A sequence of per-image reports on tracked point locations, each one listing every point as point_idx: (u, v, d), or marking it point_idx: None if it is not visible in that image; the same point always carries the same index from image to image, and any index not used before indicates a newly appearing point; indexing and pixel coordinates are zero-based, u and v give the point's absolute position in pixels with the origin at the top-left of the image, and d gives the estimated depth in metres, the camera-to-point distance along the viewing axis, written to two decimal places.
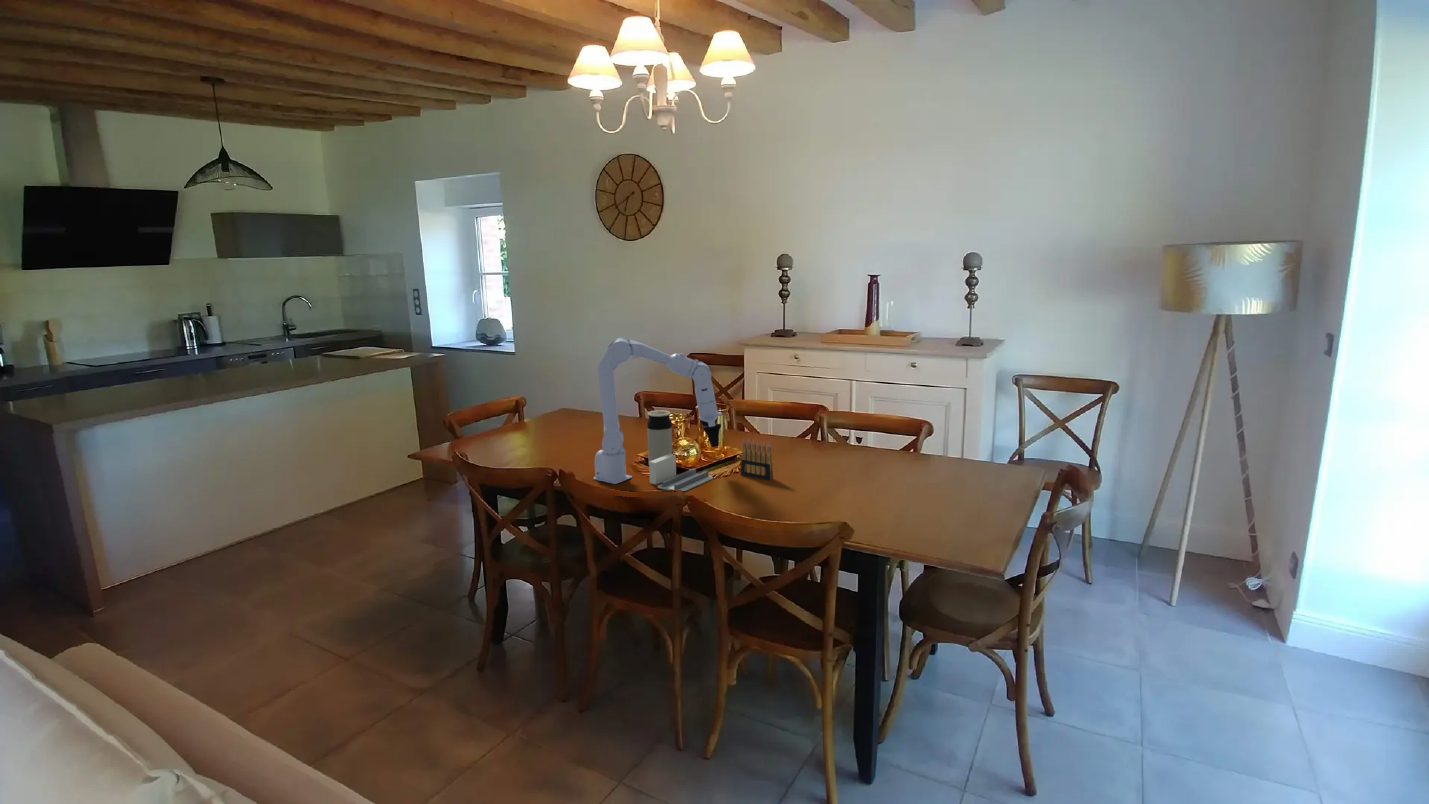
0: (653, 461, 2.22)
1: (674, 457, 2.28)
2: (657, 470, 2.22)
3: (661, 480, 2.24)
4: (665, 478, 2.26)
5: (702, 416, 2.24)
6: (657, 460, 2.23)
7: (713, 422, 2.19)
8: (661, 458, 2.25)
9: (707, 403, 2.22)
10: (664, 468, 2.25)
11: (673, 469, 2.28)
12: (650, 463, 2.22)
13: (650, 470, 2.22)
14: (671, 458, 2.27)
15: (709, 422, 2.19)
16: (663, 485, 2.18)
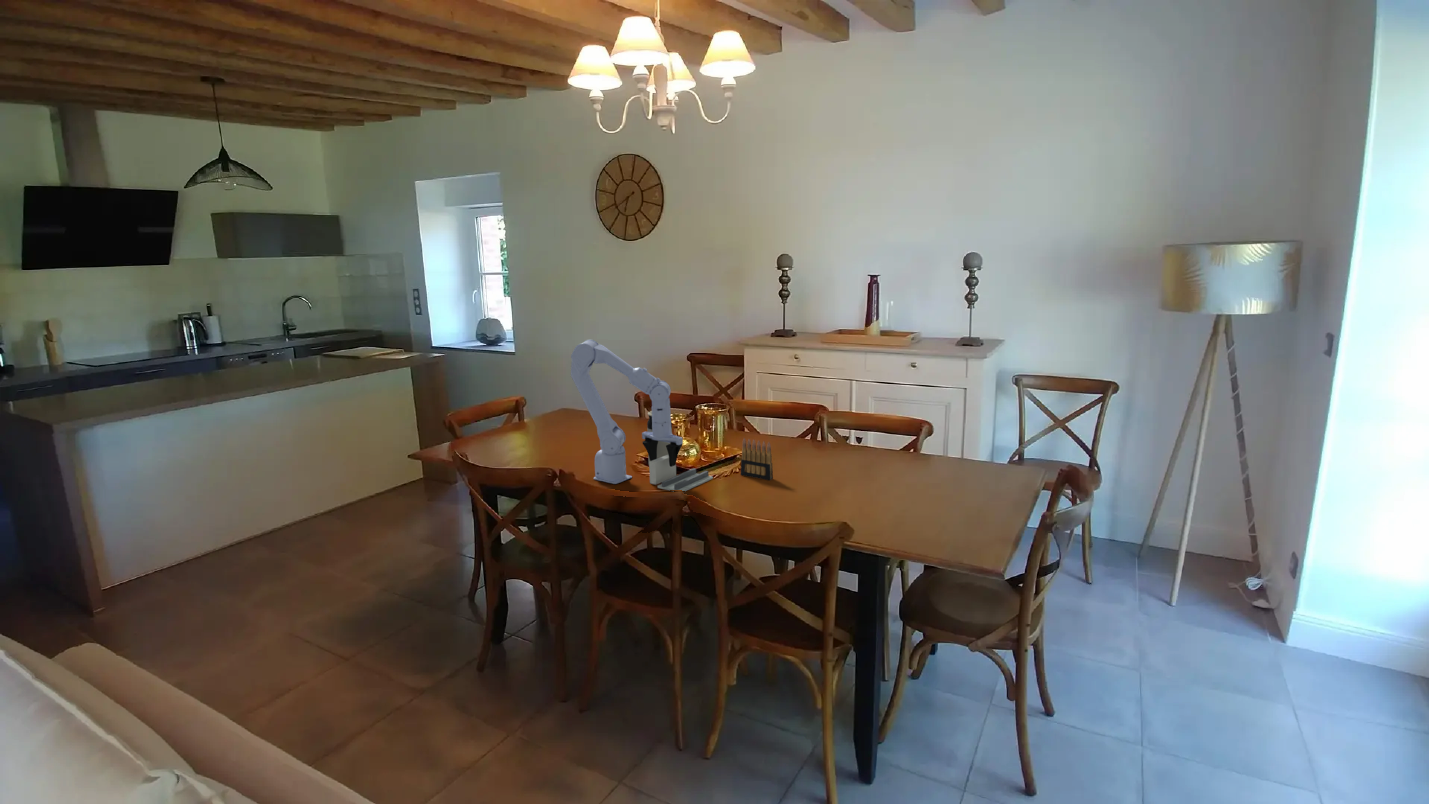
0: (653, 461, 2.22)
1: None
2: (657, 470, 2.22)
3: (661, 480, 2.24)
4: (665, 478, 2.26)
5: (662, 436, 2.21)
6: (657, 460, 2.23)
7: (681, 440, 2.20)
8: (661, 458, 2.25)
9: (668, 422, 2.21)
10: (664, 468, 2.25)
11: (673, 469, 2.28)
12: (650, 463, 2.22)
13: (650, 470, 2.22)
14: None
15: (679, 440, 2.19)
16: (663, 485, 2.18)
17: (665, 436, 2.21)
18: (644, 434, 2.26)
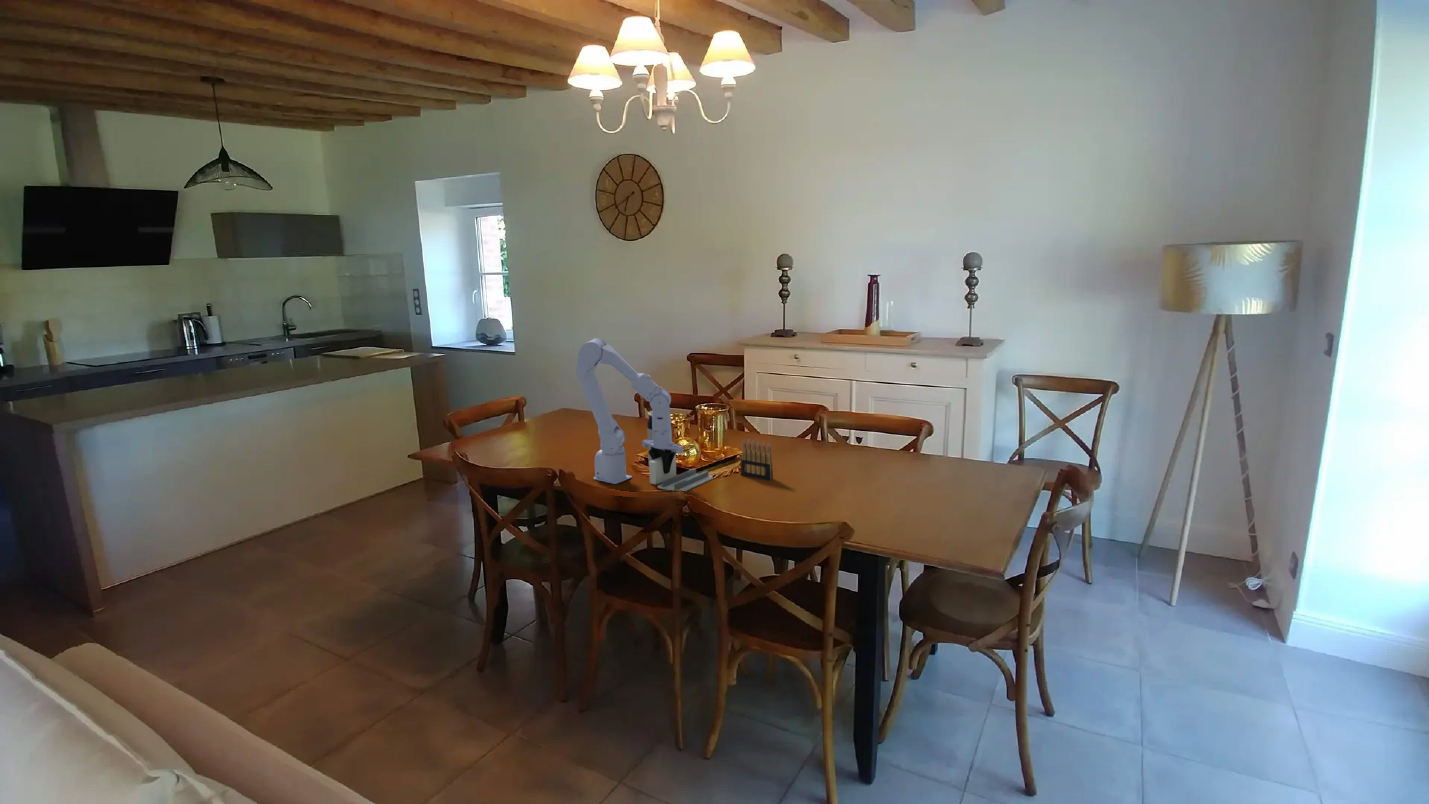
0: (653, 461, 2.22)
1: (674, 457, 2.28)
2: (657, 469, 2.22)
3: (661, 480, 2.24)
4: (665, 478, 2.26)
5: (662, 444, 2.21)
6: (657, 460, 2.23)
7: (681, 448, 2.21)
8: (661, 458, 2.25)
9: (669, 431, 2.22)
10: None
11: (673, 468, 2.28)
12: (650, 463, 2.22)
13: (650, 470, 2.22)
14: None
15: (679, 449, 2.20)
16: (663, 485, 2.18)
17: (665, 445, 2.22)
18: (644, 442, 2.27)
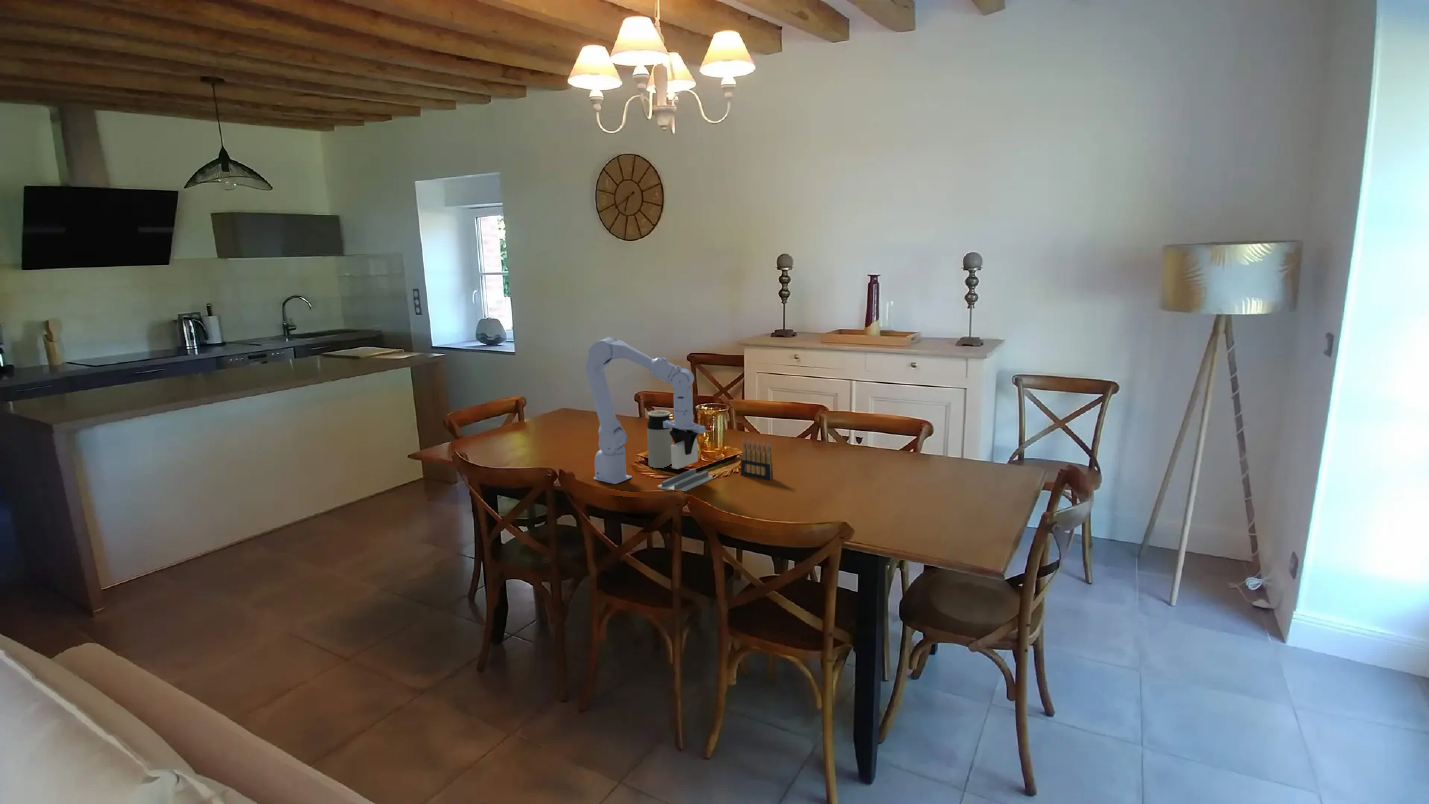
0: (675, 445, 2.17)
1: (696, 441, 2.23)
2: (679, 454, 2.17)
3: (683, 464, 2.19)
4: (687, 462, 2.21)
5: (684, 424, 2.16)
6: (679, 444, 2.18)
7: (704, 429, 2.16)
8: (683, 442, 2.20)
9: (691, 410, 2.17)
10: None
11: (694, 453, 2.23)
12: (672, 447, 2.17)
13: (672, 454, 2.17)
14: None
15: (701, 429, 2.15)
16: (663, 485, 2.18)
17: (687, 425, 2.17)
18: (665, 423, 2.22)
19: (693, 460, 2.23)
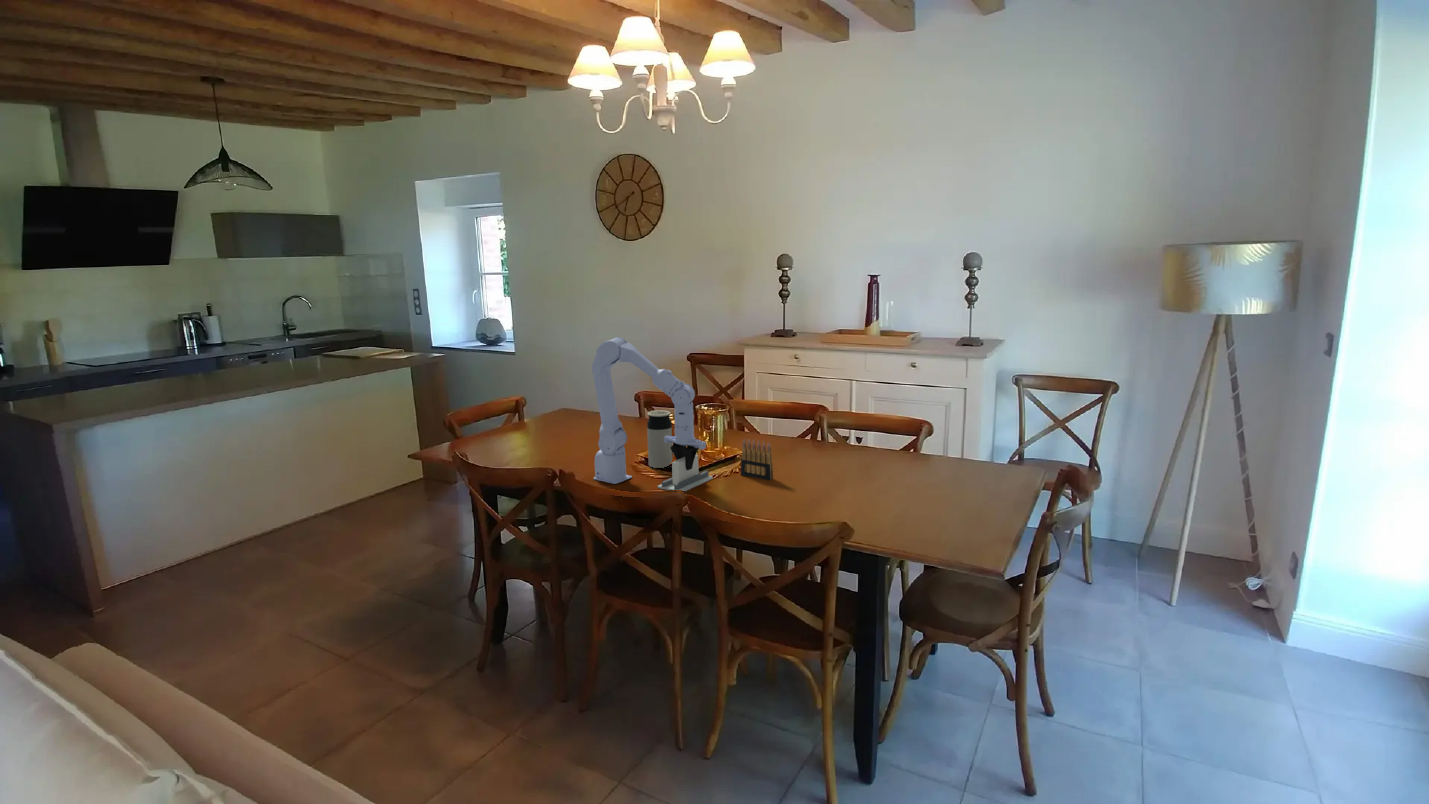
0: (676, 461, 2.18)
1: (697, 457, 2.24)
2: (680, 470, 2.18)
3: None
4: None
5: (685, 440, 2.17)
6: (680, 460, 2.19)
7: (705, 444, 2.17)
8: (684, 459, 2.21)
9: (691, 426, 2.18)
10: None
11: (695, 469, 2.24)
12: (673, 463, 2.18)
13: (673, 470, 2.18)
14: None
15: (702, 444, 2.16)
16: (663, 485, 2.18)
17: (688, 440, 2.17)
18: (666, 438, 2.23)
19: None
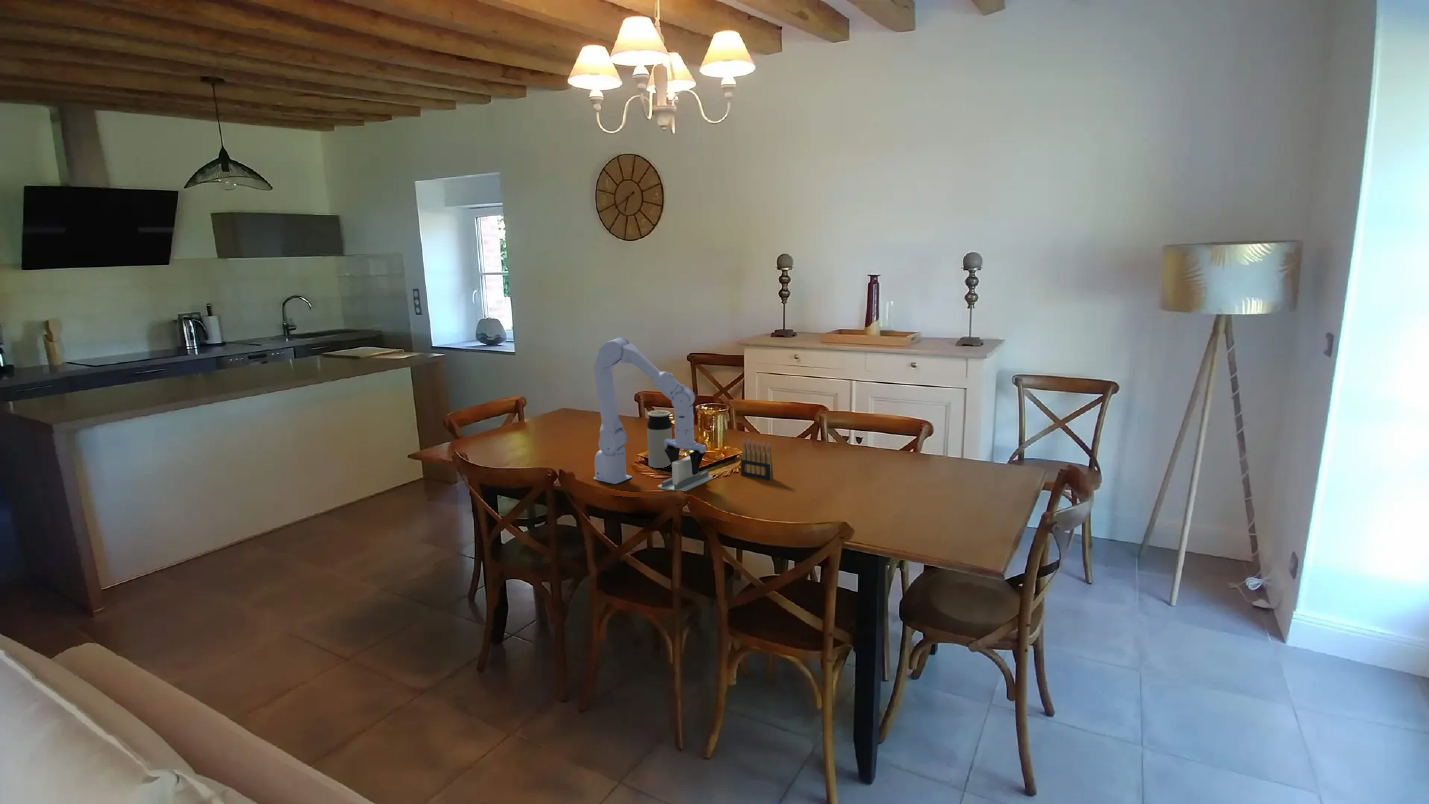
0: (676, 462, 2.18)
1: None
2: (680, 471, 2.18)
3: None
4: None
5: (685, 443, 2.17)
6: (680, 461, 2.19)
7: (705, 448, 2.17)
8: (684, 459, 2.21)
9: (692, 430, 2.18)
10: (687, 470, 2.21)
11: None
12: (673, 464, 2.18)
13: (673, 471, 2.18)
14: None
15: (702, 448, 2.16)
16: (663, 485, 2.18)
17: (688, 444, 2.18)
18: (666, 441, 2.23)
19: None
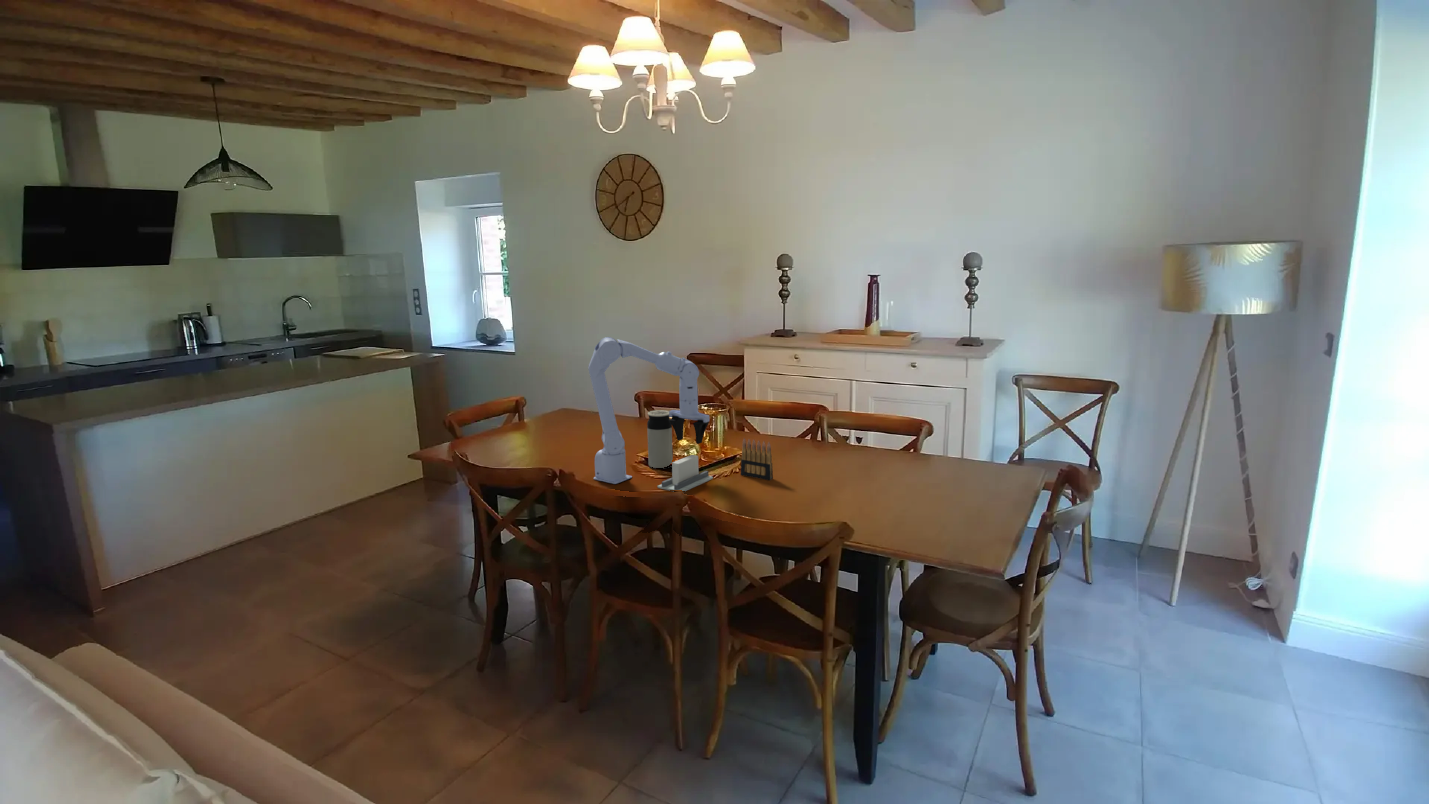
0: (676, 462, 2.18)
1: (697, 458, 2.24)
2: (680, 471, 2.18)
3: None
4: None
5: (689, 413, 2.26)
6: (680, 461, 2.19)
7: (708, 418, 2.25)
8: (684, 459, 2.21)
9: (696, 400, 2.26)
10: (687, 470, 2.21)
11: (695, 470, 2.24)
12: (673, 464, 2.18)
13: (673, 471, 2.18)
14: (693, 459, 2.23)
15: (706, 418, 2.24)
16: (663, 485, 2.18)
17: (692, 414, 2.26)
18: (671, 412, 2.31)
19: None
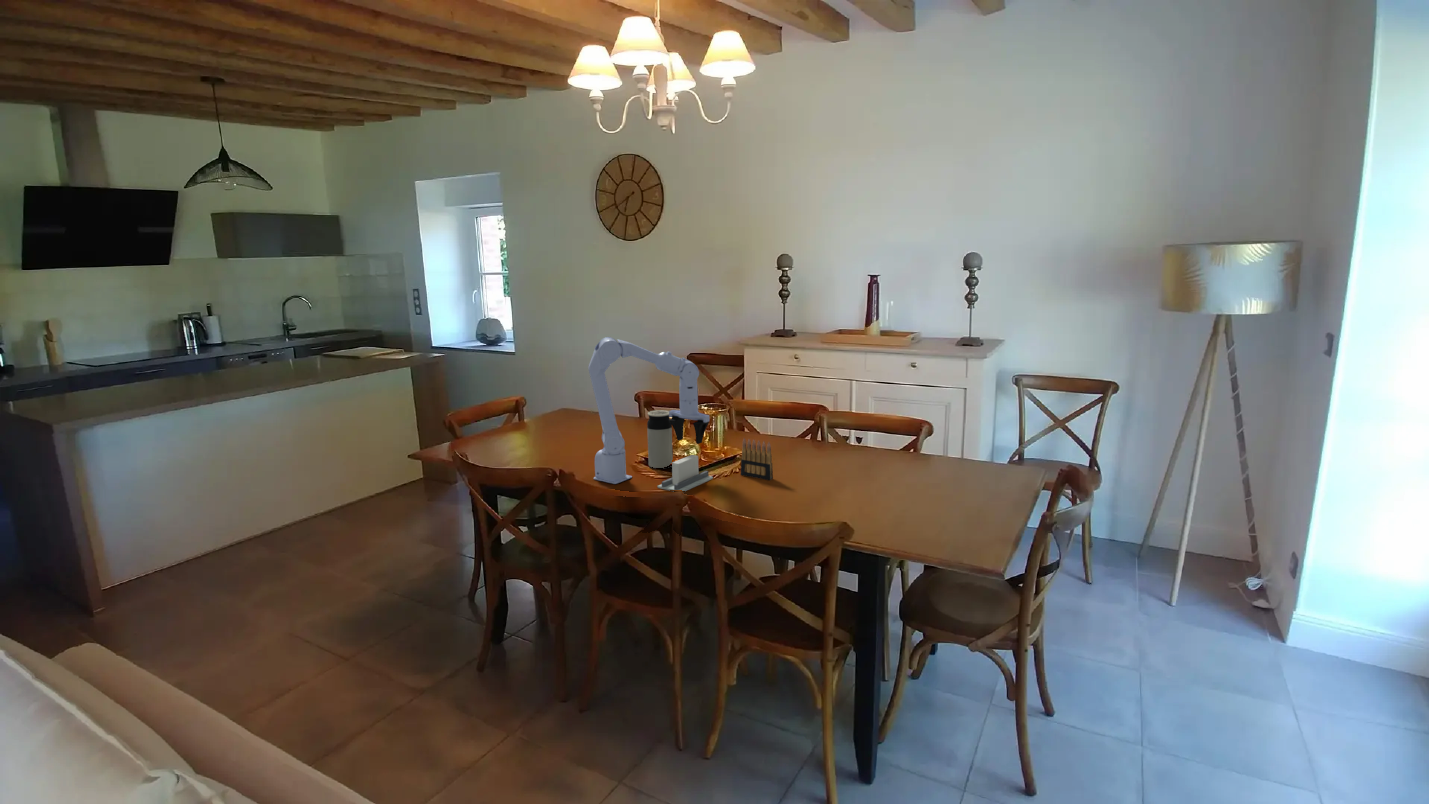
0: (676, 462, 2.18)
1: (697, 458, 2.24)
2: (680, 471, 2.18)
3: None
4: None
5: (689, 413, 2.26)
6: (680, 461, 2.19)
7: (708, 417, 2.25)
8: (684, 459, 2.21)
9: (696, 400, 2.26)
10: (687, 470, 2.21)
11: (695, 470, 2.24)
12: (673, 464, 2.18)
13: (673, 471, 2.18)
14: (693, 459, 2.23)
15: (706, 417, 2.24)
16: (663, 485, 2.18)
17: (692, 414, 2.26)
18: (671, 412, 2.32)
19: None
